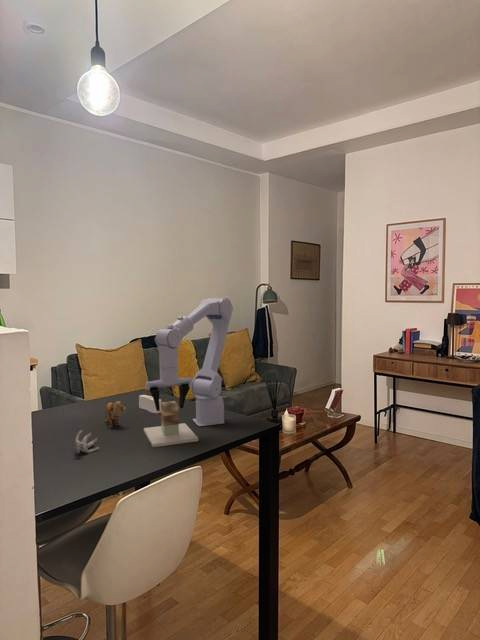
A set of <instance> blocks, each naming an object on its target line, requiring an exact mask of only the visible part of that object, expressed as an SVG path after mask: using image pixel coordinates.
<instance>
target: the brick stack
mask: <svg viewBox="0 0 480 640" xmlns="http://www.w3.org/2000/svg"><path fill="white" fill-rule="evenodd" d="M179 412H180V411H179V403H177V401H175V400H172V401H161V413H160V423H161V422H162V424H163V425H164V426H169V425H177V424H180V423H179V420H180V419H179V418H180V417H179V415H180V414H179Z"/></svg>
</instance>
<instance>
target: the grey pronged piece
mask: <svg viewBox="0 0 480 640" xmlns="http://www.w3.org/2000/svg"><path fill="white" fill-rule="evenodd" d="M83 431H84V430H83V429H81V430H79V431H78V433H77V434H76V437H75V446H73V449H74V450H75V451H76V452H77V453H78V454H79V453H80V452H83V453H87V454H90V453H93V452H96V451H98V450H100V447H99V446H97V447H95V448H92V449H90V448H91V447H92V446H94V445H95V443H97V441H98V438H95V439H93V440H91V441H89V442H88V440H89V439H88V438H89V437H92V435H93V433H92V432H89V433H88V434H87V435H85V436H84V437H83V438H82V440H80V435H81V434H82V433H83ZM87 442H88V443H87Z"/></svg>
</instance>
